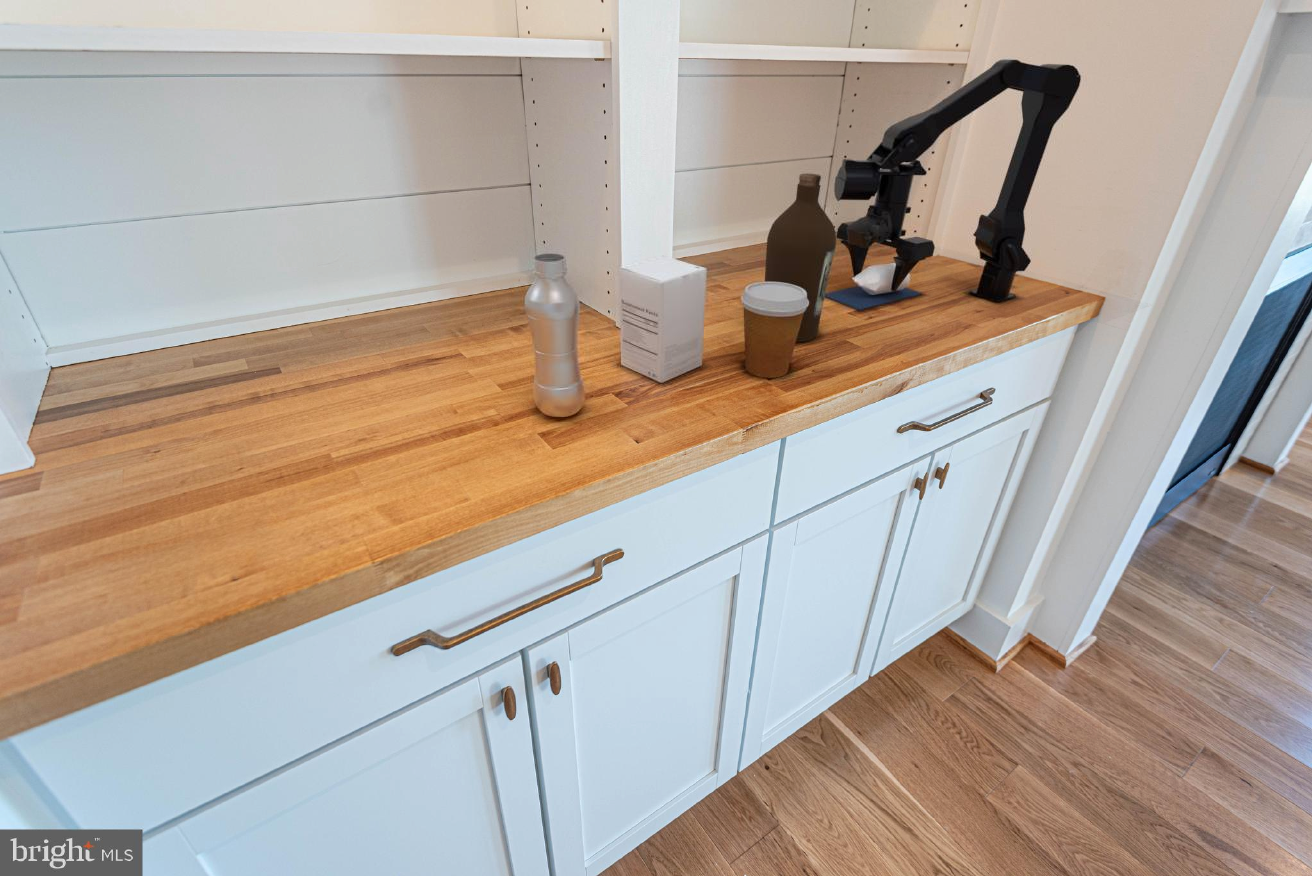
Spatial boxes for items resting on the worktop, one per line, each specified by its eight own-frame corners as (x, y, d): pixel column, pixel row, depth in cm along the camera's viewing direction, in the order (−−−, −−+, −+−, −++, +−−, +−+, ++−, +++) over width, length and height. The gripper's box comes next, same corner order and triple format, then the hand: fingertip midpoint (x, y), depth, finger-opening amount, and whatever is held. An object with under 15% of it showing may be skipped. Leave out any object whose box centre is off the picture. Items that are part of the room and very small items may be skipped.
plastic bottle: (564, 428, 79) (554, 269, 68) (523, 413, 82) (507, 259, 72) (595, 407, 84) (590, 256, 73) (556, 394, 87) (545, 246, 76)
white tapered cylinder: (839, 293, 125) (844, 264, 122) (884, 285, 130) (890, 257, 127) (861, 302, 120) (866, 273, 117) (907, 294, 125) (913, 265, 122)
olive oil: (754, 340, 104) (771, 178, 91) (760, 318, 113) (777, 167, 100) (820, 347, 102) (847, 183, 89) (821, 324, 111) (846, 171, 98)
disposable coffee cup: (779, 389, 89) (790, 307, 83) (722, 370, 94) (728, 292, 88) (809, 367, 96) (821, 289, 90) (754, 350, 101) (762, 276, 94)
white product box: (661, 348, 101) (663, 253, 93) (703, 366, 95) (709, 267, 88) (618, 364, 95) (617, 265, 87) (660, 384, 90) (663, 280, 82)
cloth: (883, 281, 133) (883, 280, 133) (921, 294, 126) (922, 293, 126) (822, 295, 124) (822, 294, 124) (859, 310, 118) (859, 308, 117)
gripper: (822, 195, 119) (810, 277, 127) (904, 215, 105) (884, 305, 114) (863, 190, 124) (849, 269, 132) (946, 208, 111) (924, 295, 119)
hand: (874, 284), depth 124 cm, fingers open, 9 cm apart
